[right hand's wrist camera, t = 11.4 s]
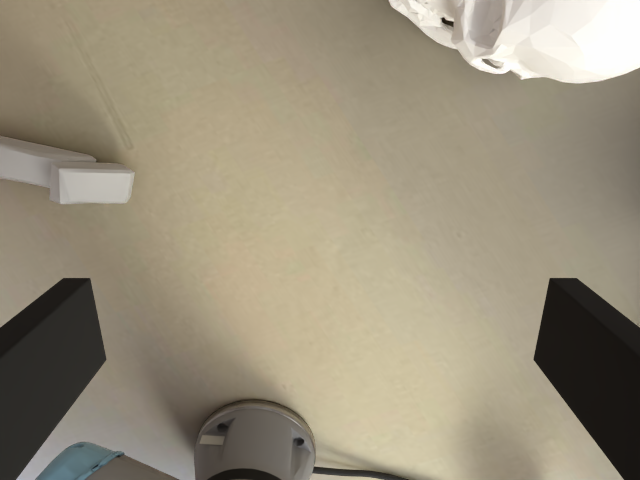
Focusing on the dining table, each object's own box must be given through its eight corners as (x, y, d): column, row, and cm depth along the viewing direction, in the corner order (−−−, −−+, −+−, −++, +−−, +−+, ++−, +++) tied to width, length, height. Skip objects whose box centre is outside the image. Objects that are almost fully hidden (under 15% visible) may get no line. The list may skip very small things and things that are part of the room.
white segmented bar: (140, 166, 44) (102, 178, 38) (136, 201, 45) (98, 219, 39) (-52, 112, 44) (-123, 116, 38) (-51, 149, 45) (-119, 158, 39)
